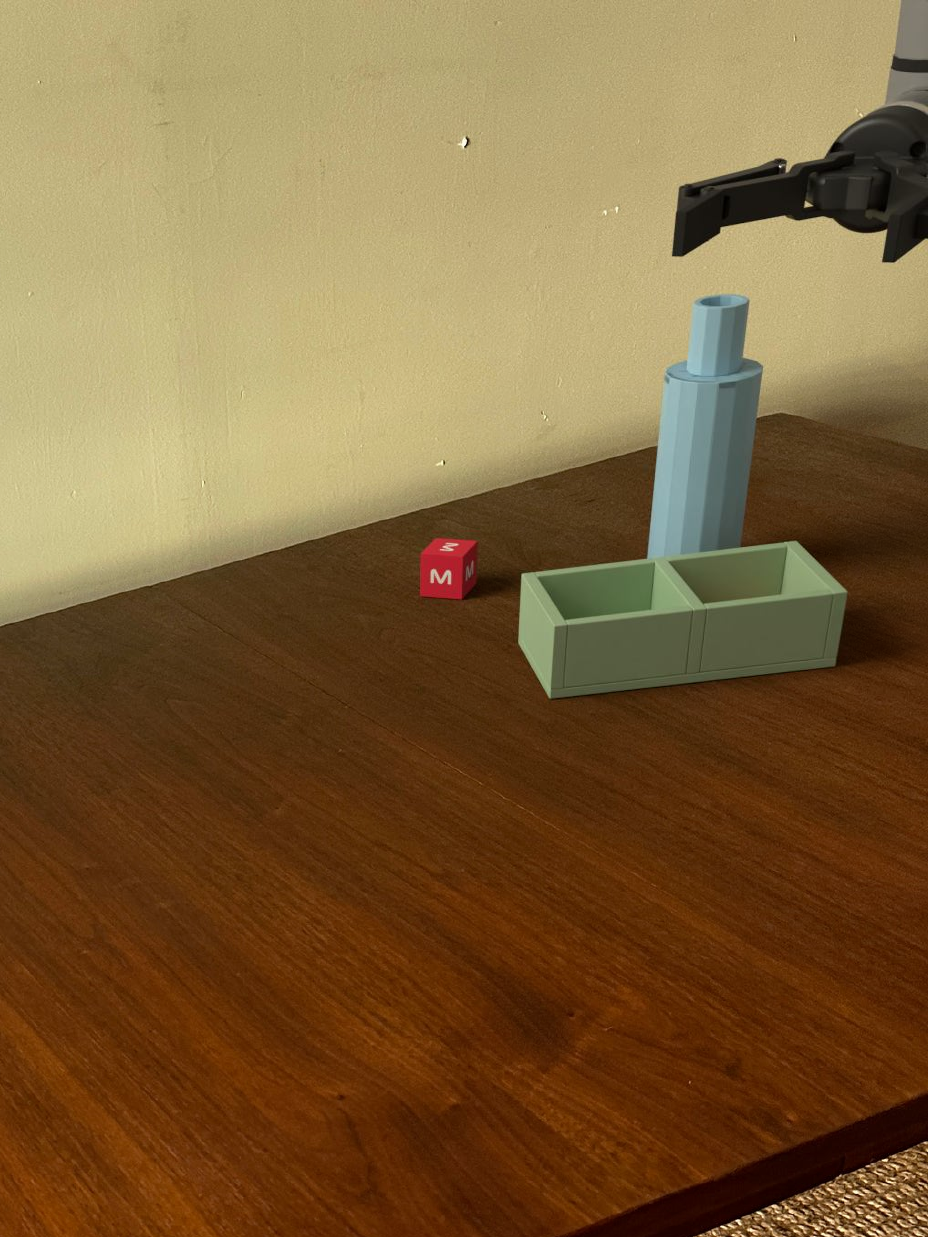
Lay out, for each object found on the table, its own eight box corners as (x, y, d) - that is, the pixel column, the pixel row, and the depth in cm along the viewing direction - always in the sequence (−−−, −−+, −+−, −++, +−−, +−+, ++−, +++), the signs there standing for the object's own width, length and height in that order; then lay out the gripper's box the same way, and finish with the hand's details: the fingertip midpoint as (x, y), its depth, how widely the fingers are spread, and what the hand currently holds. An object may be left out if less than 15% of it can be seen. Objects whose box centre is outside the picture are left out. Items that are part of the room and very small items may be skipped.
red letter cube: (461, 599, 121) (463, 556, 119) (420, 596, 122) (420, 553, 120) (476, 583, 123) (477, 540, 121) (435, 580, 124) (435, 538, 122)
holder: (785, 612, 113) (796, 540, 110) (835, 666, 106) (848, 591, 103) (517, 643, 114) (521, 573, 111) (549, 699, 107) (554, 626, 104)
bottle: (721, 552, 122) (754, 284, 111) (748, 582, 117) (784, 305, 107) (636, 562, 122) (660, 296, 112) (659, 592, 118) (687, 318, 107)
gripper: (1069, 225, 121) (975, 307, 109) (712, 219, 135) (594, 292, 123) (1097, 99, 117) (1002, 171, 105) (724, 106, 130) (602, 170, 118)
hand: (781, 236), depth 114 cm, fingers open, 13 cm apart
